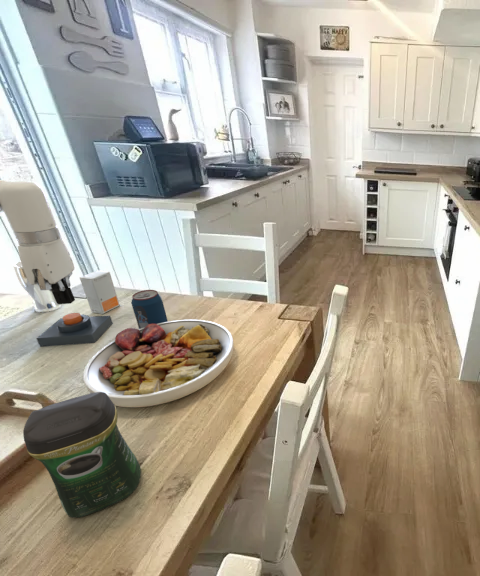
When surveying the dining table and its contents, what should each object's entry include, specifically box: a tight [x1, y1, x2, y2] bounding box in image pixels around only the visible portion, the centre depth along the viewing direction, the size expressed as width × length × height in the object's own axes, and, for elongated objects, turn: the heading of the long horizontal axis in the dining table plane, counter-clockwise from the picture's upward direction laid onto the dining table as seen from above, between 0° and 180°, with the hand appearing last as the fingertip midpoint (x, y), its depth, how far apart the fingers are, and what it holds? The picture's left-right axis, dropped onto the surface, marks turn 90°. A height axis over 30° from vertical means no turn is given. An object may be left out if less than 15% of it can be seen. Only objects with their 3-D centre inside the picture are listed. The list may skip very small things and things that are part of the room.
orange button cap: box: [62, 312, 82, 325], centre depth 88 cm, size 4×4×2 cm
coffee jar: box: [22, 392, 142, 519], centre depth 49 cm, size 10×8×19 cm
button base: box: [36, 313, 114, 348], centre depth 89 cm, size 12×10×4 cm
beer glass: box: [12, 261, 63, 314], centre depth 97 cm, size 7×7×15 cm
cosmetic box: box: [79, 269, 120, 315], centre depth 100 cm, size 6×4×12 cm
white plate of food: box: [82, 319, 235, 408], centre depth 78 cm, size 30×30×8 cm
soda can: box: [130, 289, 169, 329], centre depth 91 cm, size 7×7×12 cm
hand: (66, 302), depth 86 cm, fingers closed
